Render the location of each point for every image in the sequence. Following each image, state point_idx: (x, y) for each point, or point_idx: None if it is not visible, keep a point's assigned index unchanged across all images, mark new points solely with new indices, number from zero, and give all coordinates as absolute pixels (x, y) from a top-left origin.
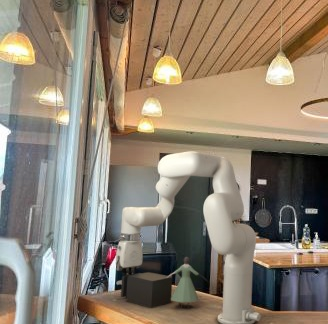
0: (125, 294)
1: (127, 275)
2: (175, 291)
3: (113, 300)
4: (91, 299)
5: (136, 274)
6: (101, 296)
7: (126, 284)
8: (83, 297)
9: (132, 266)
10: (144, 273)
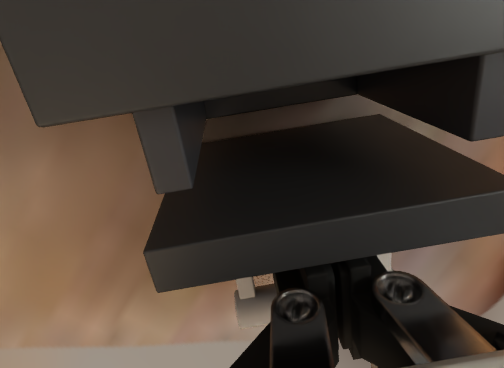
0: (359, 123)
1: (423, 239)
2: None
3: (431, 132)
4: (497, 241)
5: (421, 53)
6: (410, 270)
7: (399, 153)
8: (489, 302)
9: (439, 363)
10: (199, 39)
